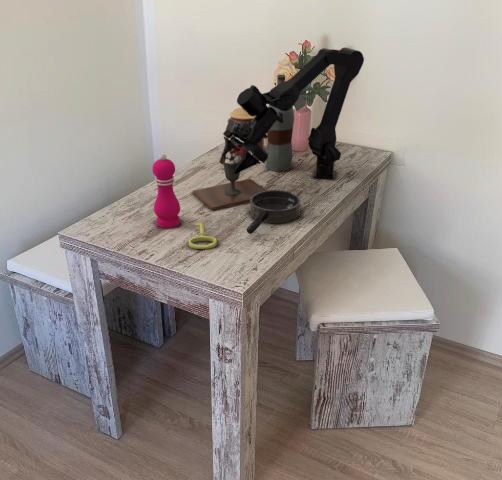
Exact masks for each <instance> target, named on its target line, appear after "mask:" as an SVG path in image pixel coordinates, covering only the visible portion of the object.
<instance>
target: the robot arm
mask: <svg viewBox="0 0 502 480" xmlns="http://www.w3.org/2000/svg"><path fill="white" fill-rule="evenodd" d="M364 63H365V57H364V55H363V53H362V52H361V51H360V50H356V49H353V48H349V47H342V48H340V49H333V48H326V47H323V48H321V49H319V50H318V52H317V54H316V55H314V56H313V57H312V59H310V60H309V61H308V62H307V63H306V64H305V65H304V66H303V67H301V68H300V69H299V70H298V71H297V72H296V73H295V74H294V75H293V76H292V77H291V78H289V79H287V80H285V82H282V83H280V84H278V85H277V84H276V85H275V86H274V87H272V88H271V89H270V91H267V92H264V93H262V92H261V91H260V89H259V88H258V87H257V86H256V85H254V84H251V85H250V86H249V87H248V88H245V89H244V90H243V91H240V93H239V95H238V96H237V99H236V104H237V105H239V107H240V108H241V107H242V108H243V109H244V110H245V111H246V112H247V113H248V114H249V115H250V116H255V117H254V118H253V120H252V121H251V122H250V121H246V123H245V122H243V121H242V122H241V123H240V122H238V121H235V120H232V119H229V118H228V119H229V122H228V121H227V125H226V128H225V130H224V132H223V133H222V135H223V139H224V147H223V151H222V153H221V156H220V159H219V162H218V163H219V164H220V165H223V163H222V162H221V160H222V159H223V157H222V154H225V156H226V154H227V153H228V152H229V151H231V150H232V149H234V148H235V147H236V146H237V147H239V148H241V147H244V148H246V149H247V150H249V151H247V150H245V149H244V150H243V157H242V159H241V160H240V162H239V163H238V165H237V166H236V168H235V169H234V171H233V172H234V173H235V174H237V173H239V172H240V173H241V172H243V171H245V170H247V169H249V168H251V167H254V166H256V165H260V164H262V163H263V164H265V163H266V160H267V159H268V153H266V150H265V149H264V150H263V149H262V148H261V147H260V146H259V145H258V144H259V143H260V141H261V140H262V139H263V138H264V140H267V137H268V136H267V132H268V131H269V130H270V128H271V127H272V126H273V125H274V123H275V122H276V121H278V122H280V123H283V114H282V113H280V112H277V111H276V110H275V109H274V108H272V107H268V106H269V105H271V106H273V107H275V108H277V109H279V110H282V111H288V110H290V109H291V108H292V107H293V108H294V106H295V104H297V102H298V101H299V98H300V96H301V93H302V92H303V91H304V90H305V89H306V88H307V87H308V86H309V85H310V84H311V83H312V82H313V81H314V80H315V79H316V78H318V77H319V76H320V75H321V74H322V73H323V72H324V71H325V70H326V69H328V67H330V66H331V65H333V71H334V79H333V83H332V85H331V89H330V92H329V95H328V99H327V101H326V103H325V104H326V105H325V108H324V111H323V114H322V117H321V121H320V123H319V124H318V125H317V126H316V127H312V128H311V129H310V134H309V136H308V138H307V141H308V148H309V149H310V150H311V153H312V155H313V156H316V166H315V171H314V174H313V178H315V179H324V180H325V179H326V180H334V179H335V177H336V176H335V175H336V170H335V162H336V161H340V159H341V156H342V152H341V151H339V149H338V148H337V147H336V143H337V132H336V128H337V124H338V121H339V118H340V116H341V112H342V110H343V107H344V104H345V100H346V98H347V95H348V91H349V88H350V85H351V83H352V82H353V80H354V79H355V78H356V77H357V76H358V75H359V74H360V71H361V69H362V67H363V66H364ZM237 144H240V145H239V146H238V145H237ZM237 147H236V148H235V152H236V151H240V149H239V148H237Z"/></svg>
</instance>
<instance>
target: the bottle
mask: <svg viewBox="0 0 502 480" xmlns="http://www.w3.org/2000/svg"><path fill="white" fill-rule="evenodd" d="M276 77H277V79H276V80H277V81H276V86H277V85H278V84H280V83H282V82H285V81H286V77H287V76H286V75H285V74H277V76H276ZM267 107H272V108H274V109H275V110H276V111H277V112H280V113H282V114H283V123H280V122H278V121H276V122H275V123H274V125H273V126H272V127H271V128H270V130H269V131H268V132H267V134H266V135H267V136H268V137H267V138H266V140H267V142H266V147H265V148H266V149H265V152H266V153H268V159H267V160H266V161H265V164H266V167H267V169H268V170H270V171H272V172H286V171H289V170H290V169H291V167H292V164H293V157H294V154H293V153H294V152H293V144H292V143H293V142H292V140H293V131H294V123H295V110H294V106H293V107H292V108H291V109H290V110H288V111H282V110H279V109H277V108H275V107H273V106H271V105H267Z"/></svg>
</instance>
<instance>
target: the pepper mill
mask: <svg viewBox="0 0 502 480" xmlns="http://www.w3.org/2000/svg"><path fill="white" fill-rule="evenodd" d="M158 158H159V159H157V160H155V161H154V163H153V164H152V168H151V171H152V174H153V175H154V181H155V184H156V186H157V196H156V198H155V200H154V204H153V213H154V214H155V216H157V217H156V225H157V227H159V228H163V229H171V228H172V229H173V228H175V227H177V226H178V225H179V224H180V216H179V214H180V212H181V204H180V202H179V199H178V198H177V196H176V194H175V190H174V185H173V184H175V176H174V175H175V173H176V166H175V163H174V162H173V161H172V160H170V159H169V158H167V155H166V154H165V153H160V154H159V157H158Z"/></svg>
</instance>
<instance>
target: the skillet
mask: <svg viewBox="0 0 502 480" xmlns="http://www.w3.org/2000/svg"><path fill="white" fill-rule="evenodd" d="M301 202H302V200H301V198H300V197H299V196H298V195H297V194H295V193H293V192H290V191H287V190H278V189H272V190H270V189H269V190H267V191H262V192H259V193H256V194H255V195H253V196H252V197H251V199H250V202H249V213H250V216H251V217H252V218H253V219H254V220H255V219H256V218H257V217H258V216H259V215H260V214H261V213H262V212H263V211H267V212H268V217H267V218H266V219H265V220H264V221H263V223H267V224H268V223H269V224H284V223H288V222H289V223H290V222H292V221H294V220H296V219H297V218H298V217H299V216H300V214H301V204H302V203H301Z"/></svg>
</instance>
